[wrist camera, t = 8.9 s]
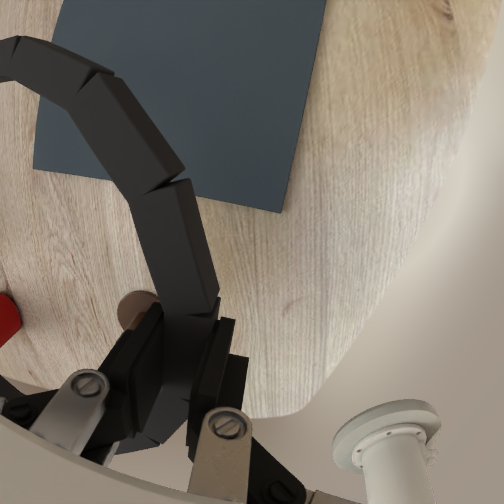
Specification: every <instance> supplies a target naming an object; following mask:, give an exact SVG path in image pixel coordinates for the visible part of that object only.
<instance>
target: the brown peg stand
mask: <svg viewBox="0 0 504 504" xmlns="http://www.w3.org/2000/svg"><path fill="white" fill-rule="evenodd" d="M154 301H156V302H160V300H159V297H157V296H156V295H154V294H151V293H149V292H144V291H135V292H131V293H129V294H127V295H126V296H125V297H124V298H123V299H122V300H121V301H120V303H119V305H118V309H117V315H118V320H119V323H120V325H121V327H122V328H123V330H124V331H125V330H126V329H131V330H135V328H136V327H137V325H138V324H139V322H140V321H141V319H142V318H143V317H144V315H145V314H146V312H147V311H148V309H149V308H150V306H151V305H152V303H153V302H154ZM124 331H123V333H124ZM123 333H122V334H123ZM122 334H121V335H122ZM120 337H121V336H120ZM120 337H119V338H120ZM119 338H118V340H119ZM118 340H117V341H118ZM117 341H116V342H117Z"/></svg>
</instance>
